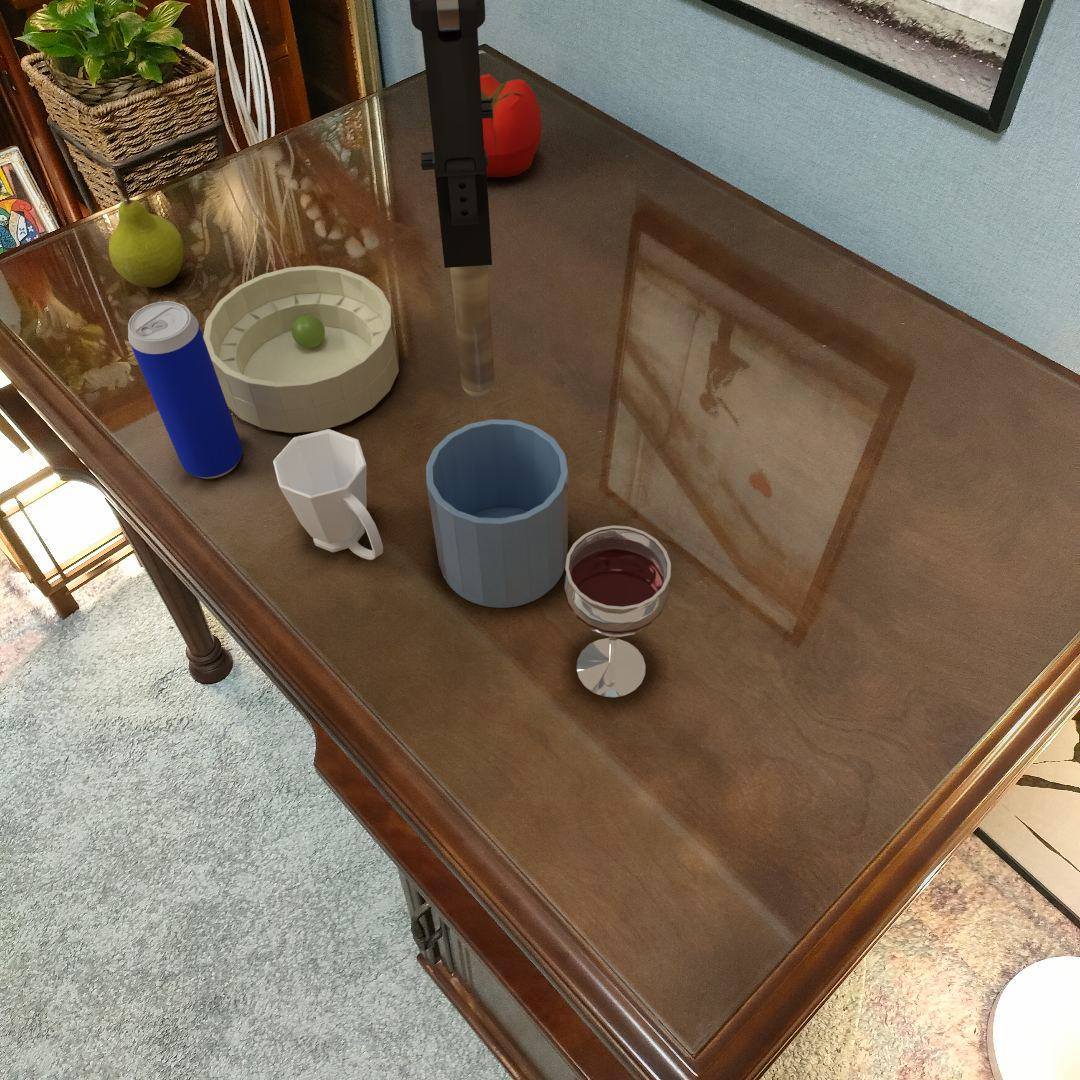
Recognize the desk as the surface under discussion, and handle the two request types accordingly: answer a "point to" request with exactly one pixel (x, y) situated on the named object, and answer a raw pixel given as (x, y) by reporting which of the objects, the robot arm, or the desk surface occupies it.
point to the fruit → (145, 246)
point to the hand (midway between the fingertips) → (466, 246)
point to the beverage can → (185, 388)
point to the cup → (328, 490)
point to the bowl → (294, 371)
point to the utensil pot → (499, 511)
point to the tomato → (510, 126)
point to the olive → (308, 331)
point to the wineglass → (615, 602)
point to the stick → (473, 328)
